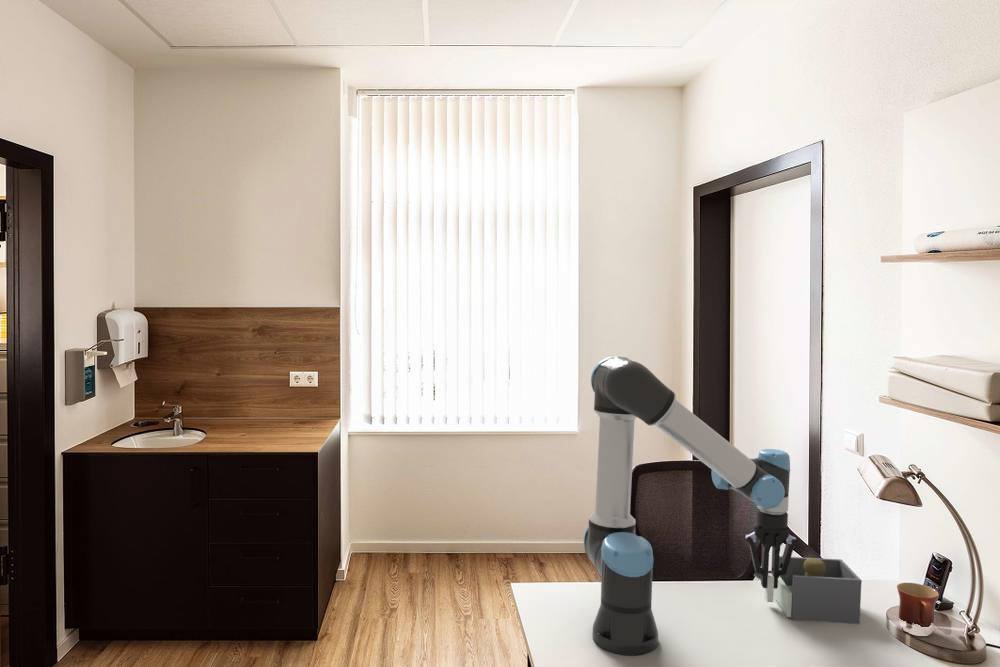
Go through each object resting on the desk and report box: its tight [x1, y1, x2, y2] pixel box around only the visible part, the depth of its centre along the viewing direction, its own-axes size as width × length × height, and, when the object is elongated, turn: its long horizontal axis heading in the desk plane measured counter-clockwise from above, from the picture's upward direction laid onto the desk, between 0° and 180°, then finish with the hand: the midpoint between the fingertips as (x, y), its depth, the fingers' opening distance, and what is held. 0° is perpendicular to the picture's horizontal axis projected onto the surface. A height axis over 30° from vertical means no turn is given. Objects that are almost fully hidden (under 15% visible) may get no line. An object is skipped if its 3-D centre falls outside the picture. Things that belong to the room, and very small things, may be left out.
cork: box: [804, 557, 826, 577], centre depth 183 cm, size 6×6×11 cm
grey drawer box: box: [779, 555, 862, 625], centre depth 183 cm, size 16×14×11 cm
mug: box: [896, 582, 940, 627], centre depth 170 cm, size 12×9×10 cm
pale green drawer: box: [773, 576, 792, 618], centre depth 183 cm, size 15×13×6 cm
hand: (768, 599), depth 184 cm, fingers closed
